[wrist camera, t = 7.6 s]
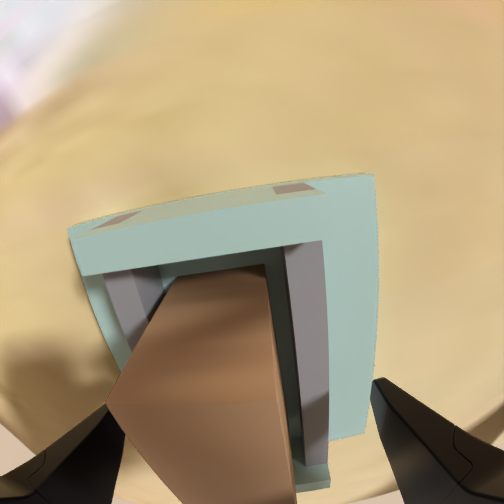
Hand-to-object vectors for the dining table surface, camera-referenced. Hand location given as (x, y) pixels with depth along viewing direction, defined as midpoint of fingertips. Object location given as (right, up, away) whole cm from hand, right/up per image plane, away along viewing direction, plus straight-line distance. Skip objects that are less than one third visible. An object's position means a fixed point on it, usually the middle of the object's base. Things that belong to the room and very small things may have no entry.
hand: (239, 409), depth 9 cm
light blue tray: (0, +1, +3) cm, 4 cm away
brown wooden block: (0, +1, +2) cm, 3 cm away
